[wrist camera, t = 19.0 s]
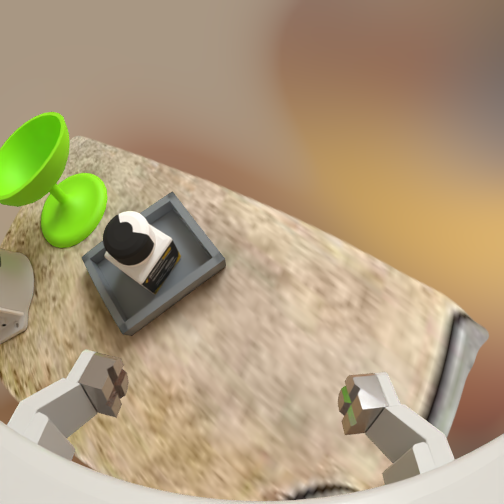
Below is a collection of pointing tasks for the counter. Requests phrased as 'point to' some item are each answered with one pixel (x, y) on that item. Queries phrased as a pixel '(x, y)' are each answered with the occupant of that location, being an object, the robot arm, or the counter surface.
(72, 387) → the robot arm
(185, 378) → the counter surface
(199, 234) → the parts tray
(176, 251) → the medicine bottle
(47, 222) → the wineglass
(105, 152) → the counter surface
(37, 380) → the counter surface
